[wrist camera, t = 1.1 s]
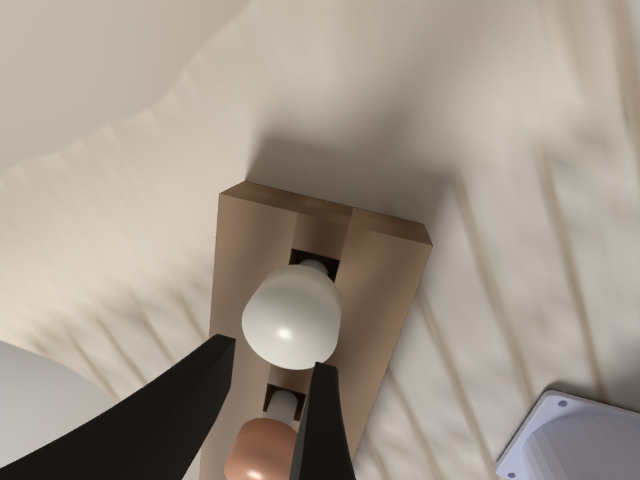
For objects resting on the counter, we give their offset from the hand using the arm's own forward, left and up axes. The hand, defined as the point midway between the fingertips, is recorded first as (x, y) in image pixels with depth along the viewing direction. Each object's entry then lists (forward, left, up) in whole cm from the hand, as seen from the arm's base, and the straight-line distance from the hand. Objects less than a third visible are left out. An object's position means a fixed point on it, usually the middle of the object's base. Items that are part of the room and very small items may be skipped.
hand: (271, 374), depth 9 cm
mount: (0, +9, -9) cm, 13 cm away
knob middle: (0, +9, -7) cm, 11 cm away
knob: (0, 0, -7) cm, 7 cm away
